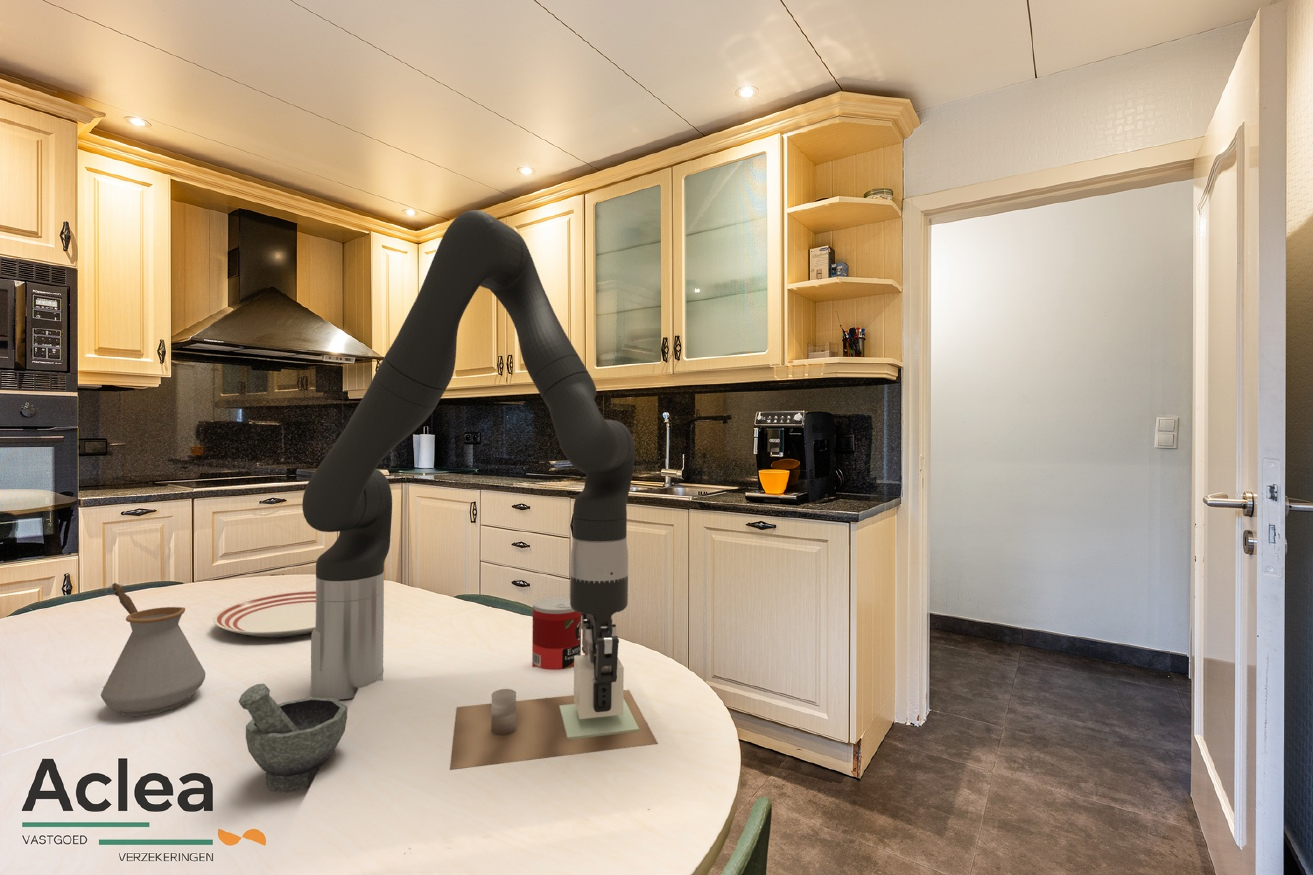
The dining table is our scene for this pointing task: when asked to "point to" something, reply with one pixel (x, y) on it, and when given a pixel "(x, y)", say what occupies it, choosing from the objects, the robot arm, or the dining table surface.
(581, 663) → the cream drawer box
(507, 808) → the dining table surface
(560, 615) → the canned food
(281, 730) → the mortar and pestle
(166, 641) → the coffee pot
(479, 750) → the post board
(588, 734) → the mat
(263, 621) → the dinner plate
